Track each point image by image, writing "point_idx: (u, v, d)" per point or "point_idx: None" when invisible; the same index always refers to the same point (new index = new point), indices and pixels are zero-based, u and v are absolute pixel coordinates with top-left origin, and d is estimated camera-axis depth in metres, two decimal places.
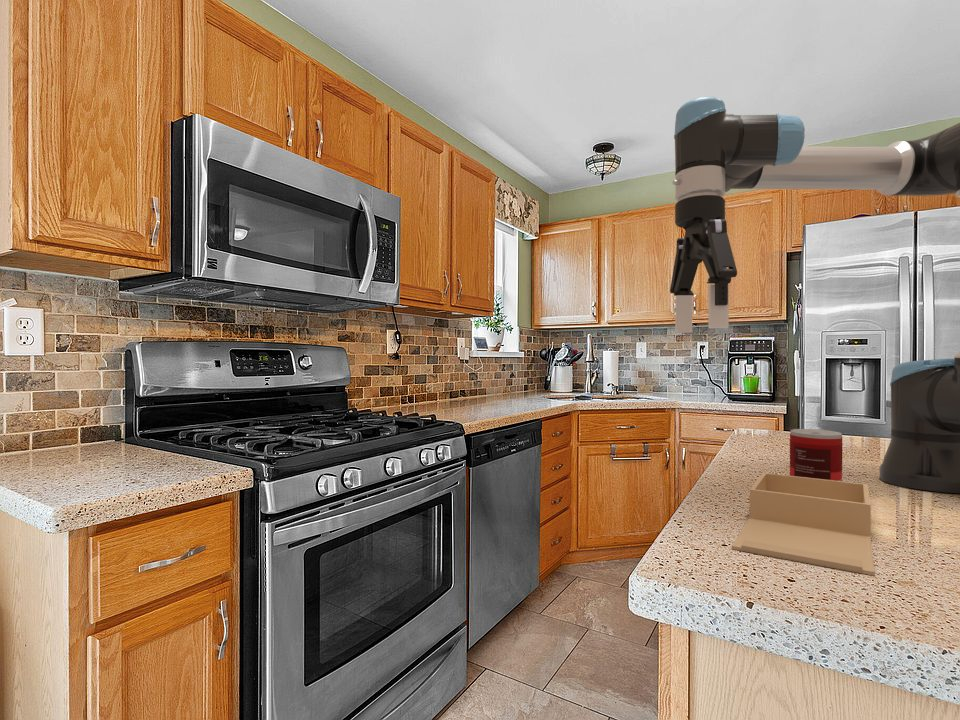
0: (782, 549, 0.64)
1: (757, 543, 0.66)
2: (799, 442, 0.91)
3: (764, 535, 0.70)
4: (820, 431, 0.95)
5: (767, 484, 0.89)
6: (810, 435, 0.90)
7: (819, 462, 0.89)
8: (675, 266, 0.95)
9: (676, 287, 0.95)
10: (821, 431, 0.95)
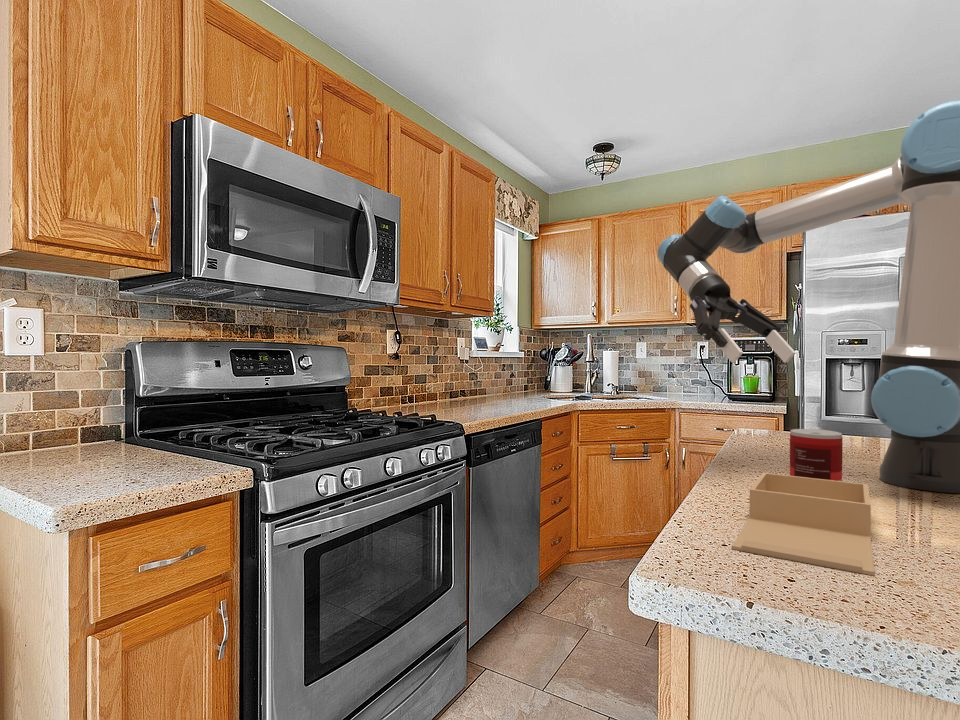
0: (782, 549, 0.64)
1: (757, 543, 0.66)
2: (799, 442, 0.91)
3: (764, 535, 0.70)
4: (820, 431, 0.95)
5: (767, 484, 0.89)
6: (810, 435, 0.90)
7: (819, 462, 0.89)
8: None
9: (762, 334, 1.11)
10: (821, 431, 0.95)
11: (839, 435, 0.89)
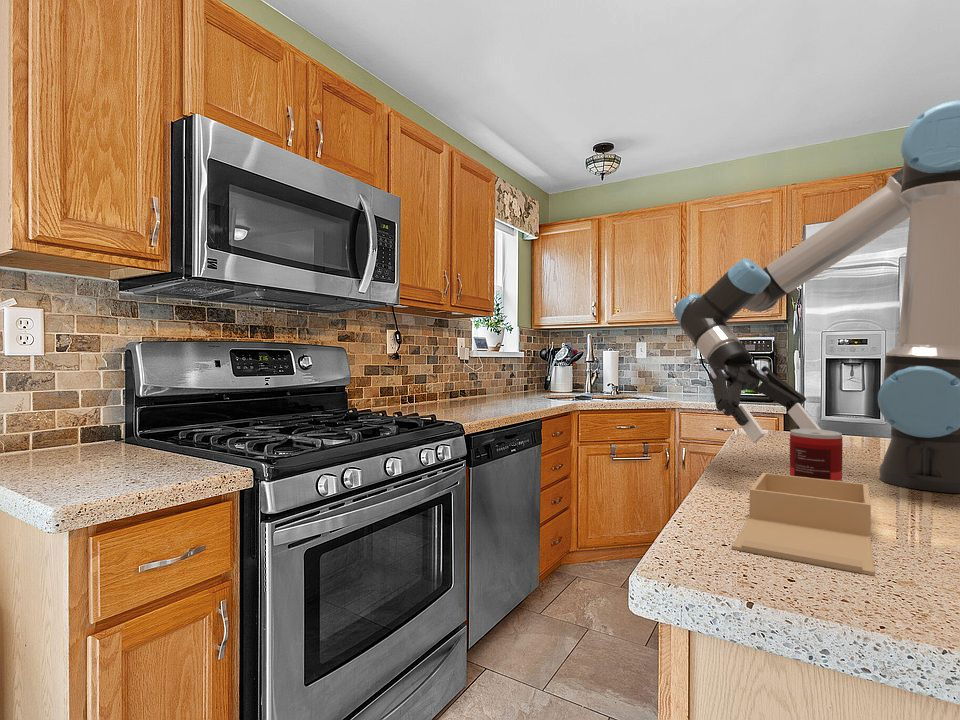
0: (782, 549, 0.64)
1: (757, 543, 0.66)
2: (799, 442, 0.91)
3: (764, 535, 0.70)
4: (820, 431, 0.95)
5: (767, 484, 0.89)
6: (810, 435, 0.90)
7: (819, 462, 0.89)
8: None
9: None
10: (821, 431, 0.95)
11: (839, 435, 0.89)
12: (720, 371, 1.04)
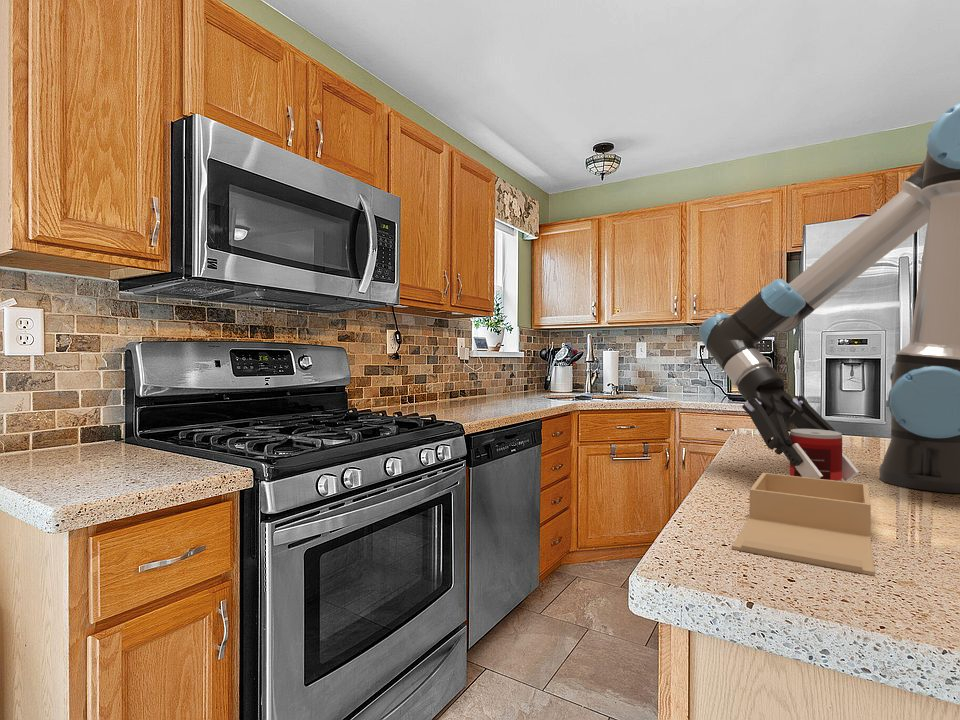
0: (782, 549, 0.64)
1: (757, 543, 0.66)
2: (799, 442, 0.91)
3: (764, 535, 0.70)
4: (820, 431, 0.95)
5: (767, 484, 0.89)
6: (809, 435, 0.90)
7: (819, 462, 0.89)
8: None
9: None
10: (821, 431, 0.95)
11: (839, 435, 0.90)
12: (757, 402, 0.97)
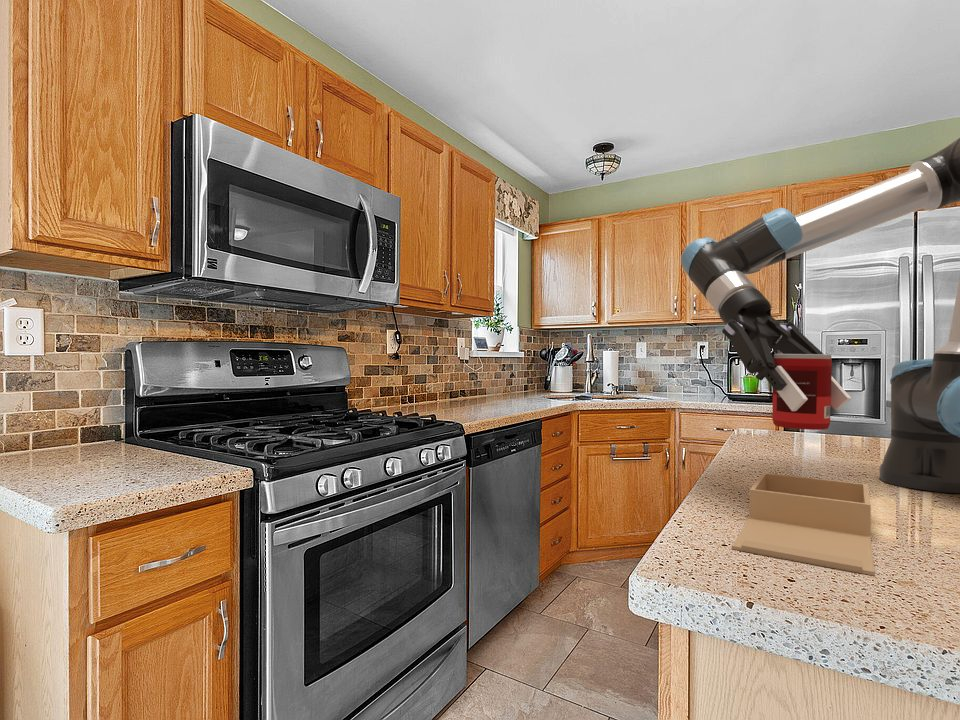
0: (782, 549, 0.64)
1: (757, 543, 0.66)
2: (782, 365, 0.81)
3: (764, 535, 0.70)
4: None
5: (767, 484, 0.89)
6: (794, 355, 0.79)
7: (804, 385, 0.79)
8: None
9: None
10: None
11: (827, 355, 0.79)
12: (738, 325, 0.87)
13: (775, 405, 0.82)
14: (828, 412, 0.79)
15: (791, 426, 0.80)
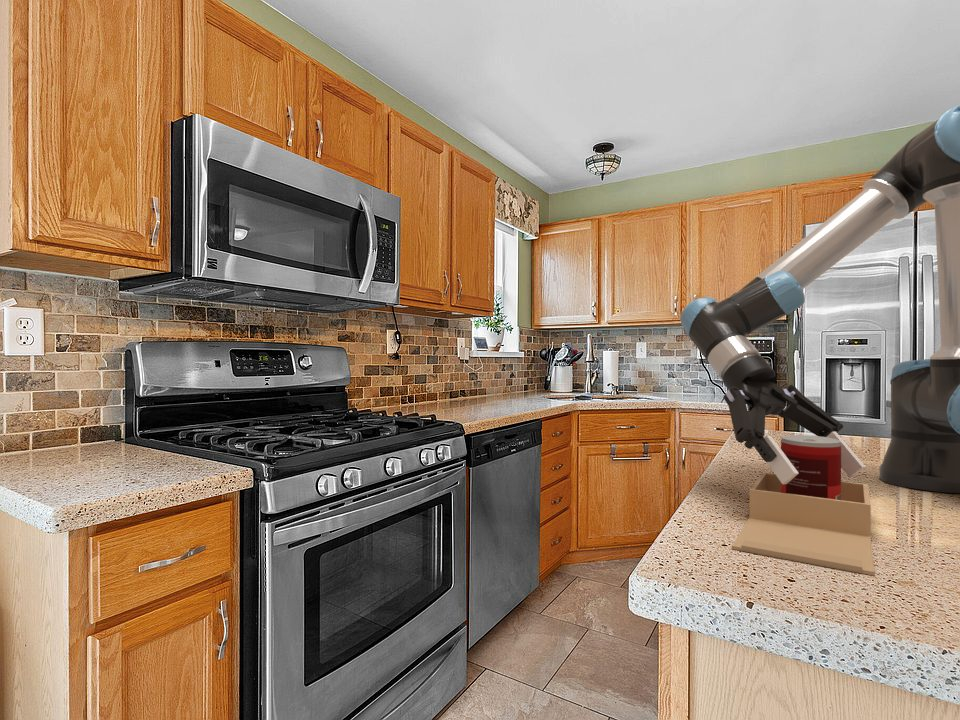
0: (782, 549, 0.64)
1: (757, 543, 0.66)
2: (791, 451, 0.79)
3: (764, 535, 0.70)
4: (815, 438, 0.82)
5: (767, 484, 0.89)
6: (803, 442, 0.77)
7: (815, 475, 0.77)
8: None
9: None
10: (817, 438, 0.82)
11: (837, 443, 0.77)
12: (738, 392, 0.85)
13: (784, 491, 0.80)
14: None
15: None
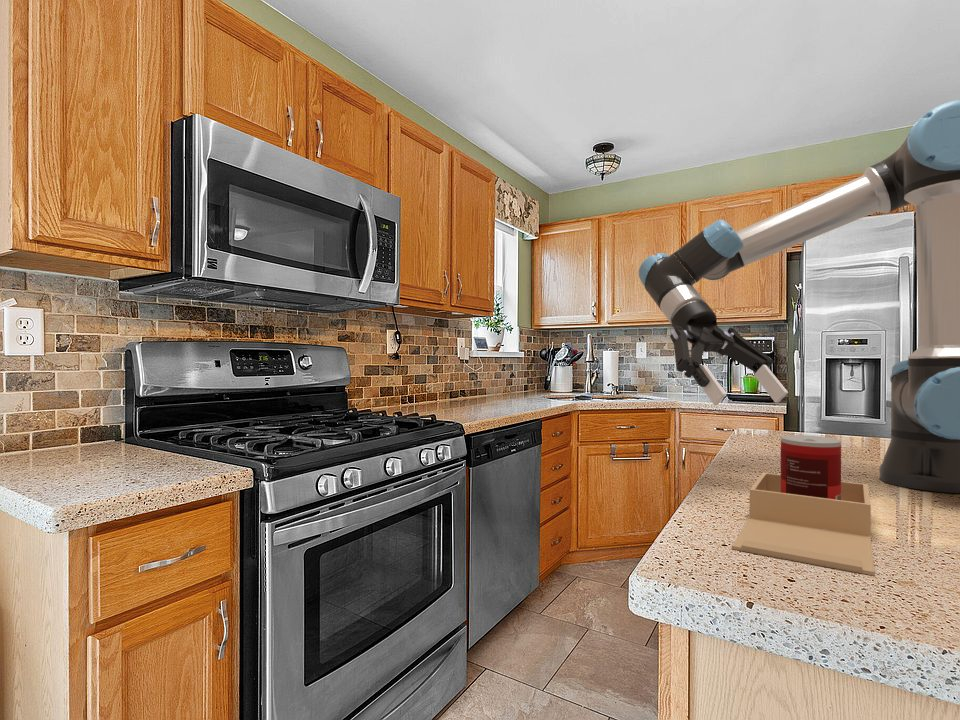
0: (782, 549, 0.64)
1: (757, 543, 0.66)
2: (791, 451, 0.79)
3: (764, 535, 0.70)
4: (815, 438, 0.82)
5: (767, 484, 0.89)
6: (803, 442, 0.77)
7: (815, 475, 0.77)
8: None
9: None
10: (816, 438, 0.82)
11: (837, 443, 0.77)
12: (682, 331, 0.97)
13: (784, 491, 0.80)
14: None
15: None
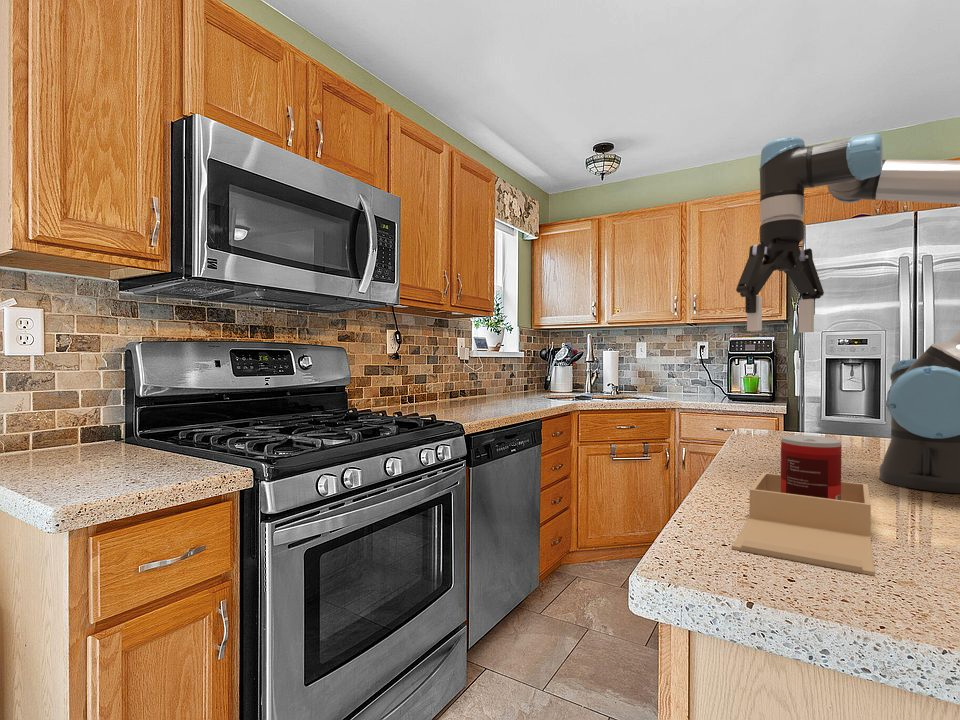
0: (782, 549, 0.64)
1: (757, 543, 0.66)
2: (791, 451, 0.79)
3: (764, 535, 0.70)
4: (816, 438, 0.82)
5: (767, 484, 0.89)
6: (804, 442, 0.77)
7: (815, 475, 0.77)
8: None
9: None
10: (817, 438, 0.82)
11: (838, 443, 0.77)
12: (762, 251, 1.02)
13: (784, 491, 0.80)
14: None
15: None
